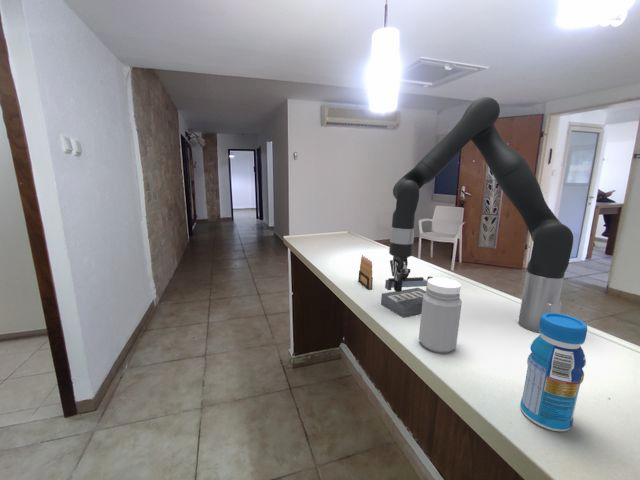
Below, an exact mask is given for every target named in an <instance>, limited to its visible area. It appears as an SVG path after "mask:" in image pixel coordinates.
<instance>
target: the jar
mask: <svg viewBox="0 0 640 480" xmlns="http://www.w3.org/2000/svg"><path fill="white" fill-rule="evenodd" d="M426 287H427V290H426V289H425V291H426V293H425V294H424V296H423V302H422V312H421V314H420V323H419V333H418V334H419V335H418V340H419V342H420V343H421V345H422V346H423V347H424V348H425V349H427V350H429V351H431V352H434V353H439V354H448V353H450V352H452V351H453V350H455V349H457V342H458V335H459V327H460V321H461V312H462V311H461V310H462V302H463V301H462V300H461V298H460V297H461V290H462V284H461V282H458V280H455V279H452V278H447V277H437V276H436V277H433V278H430V279H428V281H427V286H426Z"/></svg>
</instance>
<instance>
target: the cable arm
mask: <svg viewBox="0 0 640 480" xmlns="http://www.w3.org/2000/svg"><path fill="white" fill-rule="evenodd" d="M394 282H395V280H394V277H393V278H392V277H389V278H388V279H385V285H384V288H385V289H386V290H387V291H392V289H394ZM420 287H427V279H424V277H422V276H421V277H420V276H419V277H418V276H417V277H407V279H406V281H402V288H420Z"/></svg>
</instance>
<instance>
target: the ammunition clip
mask: <svg viewBox="0 0 640 480" xmlns="http://www.w3.org/2000/svg"><path fill="white" fill-rule="evenodd" d="M373 279H374V278H373V262H372V260H371V259H369V258H367V257H366V256H364V255H361V259H360V264H359V271H358V279H357V280H358V283H359V284H360V285H362V286H363V287H364V288H365V289H366V290H367V291H370V290H373Z"/></svg>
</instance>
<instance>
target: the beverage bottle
mask: <svg viewBox="0 0 640 480" xmlns="http://www.w3.org/2000/svg"><path fill="white" fill-rule="evenodd" d="M538 333H540V334H539V335H538V336H537V337H535V339H534V340H533V341H532V342H531V344H530V351H531V353H530V354H529V355H528V357H527V360H526V365H527V368H526V369H527V370H526V375H525V379H524V386H523V393H522V396H521V398H520V399H521V400H520V404H519V405H520V409H521V411H522V413H523V415H524V416H525V417H526V418H527V419H529V420H530V422H532V423H534V424H536V425H538V426H539V427H542V428H544V429H546V430H549V431H554V432H567V431H569V430H571V429H572V426H573V422H574V414H575V410H576V405H577V401H578V396H579V391H580V388H581V384H582V383H583V382H584V379H585V372H584V370H583V368H585V366H586V365H587V359H586V354H585V352H584V350H583V348H582V347H581V346H583V344H584V343H585V341H586V337H587V333H588V325H587V324H586V323H585V322H584V321H582V320H581V319H579V318H577V317H574V316H572V315H571V316H570V315H567V314H562V313H560V314H559V313H544V314H542V316H541V318H540V324H539V332H538Z"/></svg>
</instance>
